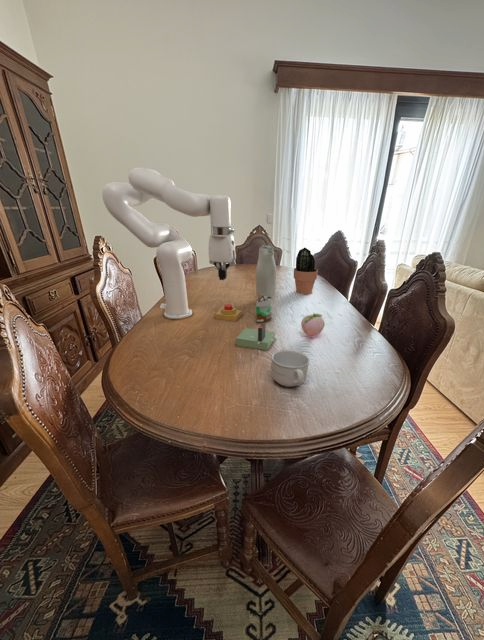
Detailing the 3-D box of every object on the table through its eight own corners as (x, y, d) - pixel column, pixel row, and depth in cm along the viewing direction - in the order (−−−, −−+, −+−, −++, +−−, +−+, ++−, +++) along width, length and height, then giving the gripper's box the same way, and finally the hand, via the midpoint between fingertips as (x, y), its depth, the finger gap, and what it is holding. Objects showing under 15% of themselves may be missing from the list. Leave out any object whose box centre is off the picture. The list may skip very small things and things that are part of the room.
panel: (234, 347, 104) (234, 339, 102) (245, 334, 114) (245, 327, 112) (269, 353, 100) (270, 345, 99) (278, 339, 110) (278, 332, 109)
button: (223, 310, 128) (222, 306, 127) (226, 307, 131) (226, 303, 130) (230, 311, 127) (230, 307, 126) (233, 308, 130) (233, 304, 129)
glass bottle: (278, 299, 155) (280, 244, 141) (268, 304, 147) (270, 247, 134) (262, 296, 159) (263, 243, 146) (252, 300, 151) (252, 245, 138)
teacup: (268, 371, 89) (269, 349, 86) (303, 370, 90) (305, 348, 87) (274, 399, 77) (275, 374, 73) (313, 397, 78) (316, 372, 74)
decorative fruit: (309, 330, 119) (312, 307, 114) (326, 336, 114) (329, 312, 109) (295, 336, 113) (297, 312, 108) (312, 343, 108) (314, 318, 103)
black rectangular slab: (261, 336, 106) (261, 322, 103) (265, 336, 105) (265, 323, 103) (257, 341, 102) (258, 327, 99) (261, 341, 101) (261, 328, 99)
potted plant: (317, 295, 161) (322, 249, 150) (293, 295, 161) (296, 249, 150) (313, 289, 173) (318, 245, 162) (291, 288, 173) (294, 245, 162)
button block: (214, 318, 129) (214, 310, 127) (222, 312, 135) (221, 304, 133) (235, 321, 126) (235, 312, 124) (242, 315, 133) (241, 306, 131)
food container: (269, 325, 122) (270, 303, 118) (255, 324, 123) (255, 302, 119) (274, 315, 133) (275, 294, 128) (261, 314, 134) (261, 293, 129)
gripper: (242, 231, 111) (242, 278, 120) (207, 229, 114) (209, 275, 123) (235, 233, 105) (236, 283, 113) (198, 231, 108) (202, 279, 117)
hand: (222, 279), depth 118 cm, fingers closed
